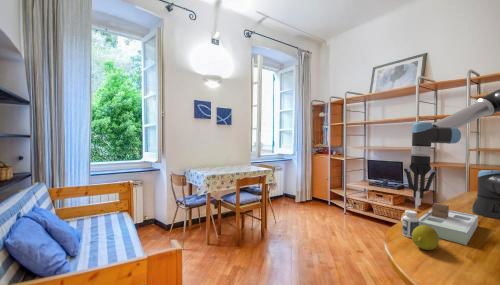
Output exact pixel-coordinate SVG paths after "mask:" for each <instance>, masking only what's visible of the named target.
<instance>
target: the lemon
mask: <svg viewBox="0 0 500 285" xmlns="http://www.w3.org/2000/svg"><path fill="white" fill-rule="evenodd" d="M411 240H412V242H413V243H414V244H415V246H417V247H418V248H420V249H422V250H425V251H431V250H435V249H436V248H437V247H438V246H439V242H440V238H439V236H438V234H437V232H436V231H435V230H434V229H433V228H431V227H430V226H426V225H421V226H418V227H416V228H415V229H414V230H413V232H412V238H411Z"/></svg>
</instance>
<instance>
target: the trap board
mask: <svg viewBox="0 0 500 285" xmlns="http://www.w3.org/2000/svg"><path fill="white" fill-rule="evenodd" d="M418 219H419V226H421V225H426V226H430V227H431V228H433V229H434V230H435V231H436V232H437V234H438V236H439V239H442V240H446V241H449V242H453V243H457V244H461V245H464V246H467V245H468V243H469V242H470V240H471V238H472V236H473V234H474V232H476V229H477V228H478V222H479V215H478V214H471V213H464V212H460V211H455V210H449V212H448V217H447V218H446V219H445V218H440V217H436V216H432V208H431V209H430V210H428V212H426V213H425V214H423V215H421V216H420V217H419V218H418Z"/></svg>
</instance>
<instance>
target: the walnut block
mask: <svg viewBox="0 0 500 285" xmlns="http://www.w3.org/2000/svg"><path fill="white" fill-rule="evenodd" d="M431 206H432V207H431V209H432V216H436V217H440V218H445V219H446V218H447V217H448V212H449V208H450V207H449V205H448V204H443V203H439V202H434V203H432V204H431Z"/></svg>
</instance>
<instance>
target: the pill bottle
mask: <svg viewBox="0 0 500 285" xmlns="http://www.w3.org/2000/svg"><path fill="white" fill-rule="evenodd" d="M417 215H418V212H417V211H415V210H410V209H407V210H406V209H405V211H404V216H402V226H401V227H402V231H401V233H402V235H403V236H404V237H407V238H410V239H412V232H413V230H414V229H415V228H416V227H418V226H419V218H418V216H417Z"/></svg>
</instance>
